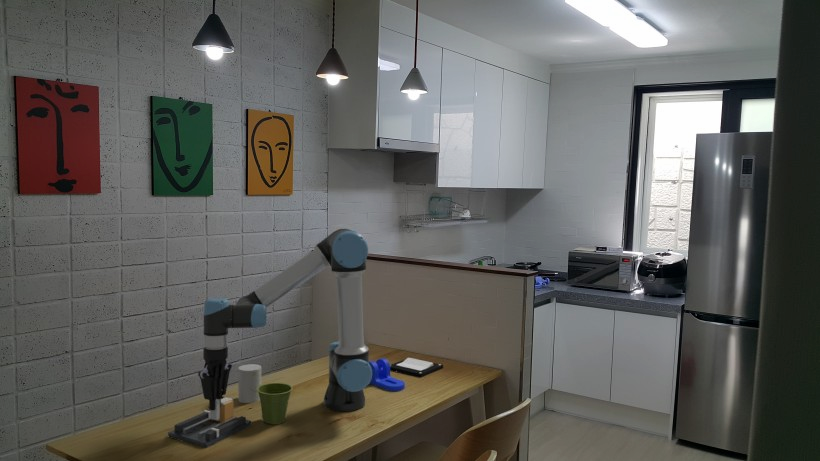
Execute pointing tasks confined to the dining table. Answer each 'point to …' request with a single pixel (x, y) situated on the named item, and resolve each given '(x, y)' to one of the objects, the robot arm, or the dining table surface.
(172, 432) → the panel
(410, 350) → the dining table surface
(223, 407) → the orange white block
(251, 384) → the white cylinder
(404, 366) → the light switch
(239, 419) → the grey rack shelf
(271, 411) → the plant pot
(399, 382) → the bracket
